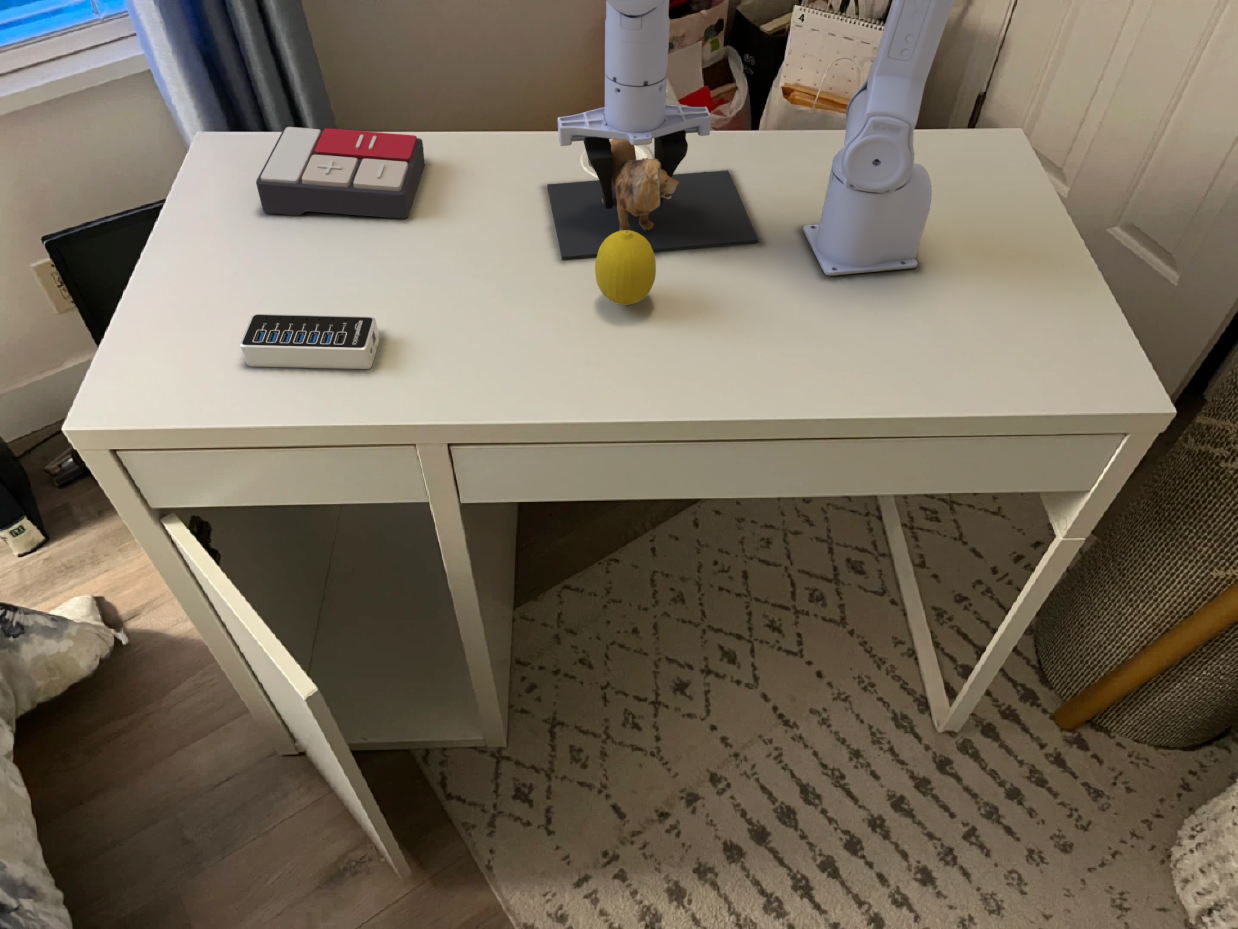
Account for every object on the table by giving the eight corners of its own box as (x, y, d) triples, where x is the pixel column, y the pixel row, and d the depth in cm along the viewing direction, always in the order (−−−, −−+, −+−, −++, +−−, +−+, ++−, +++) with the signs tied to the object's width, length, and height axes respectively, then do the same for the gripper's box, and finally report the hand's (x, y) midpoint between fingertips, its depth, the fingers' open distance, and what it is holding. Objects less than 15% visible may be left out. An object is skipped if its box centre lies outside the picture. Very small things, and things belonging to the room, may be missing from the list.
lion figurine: (681, 245, 94) (684, 165, 87) (632, 259, 92) (631, 178, 86) (624, 171, 103) (623, 92, 96) (579, 182, 101) (574, 104, 94)
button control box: (403, 188, 94) (252, 176, 94) (407, 224, 97) (262, 213, 97) (422, 131, 101) (282, 119, 101) (426, 166, 105) (290, 156, 104)
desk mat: (727, 173, 104) (728, 169, 103) (758, 242, 95) (758, 239, 95) (547, 187, 101) (547, 183, 101) (562, 260, 93) (562, 256, 93)
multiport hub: (259, 332, 85) (252, 312, 83) (380, 335, 85) (376, 316, 83) (245, 366, 82) (238, 346, 80) (371, 369, 82) (366, 349, 80)
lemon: (648, 326, 86) (651, 254, 80) (589, 317, 87) (588, 245, 81) (658, 289, 90) (662, 217, 84) (602, 281, 91) (602, 210, 85)
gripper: (562, 98, 82) (566, 229, 93) (723, 87, 84) (710, 217, 94) (553, 61, 87) (558, 189, 97) (705, 51, 89) (694, 179, 99)
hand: (632, 201), depth 96 cm, fingers closed on lion figurine, 4 cm apart
